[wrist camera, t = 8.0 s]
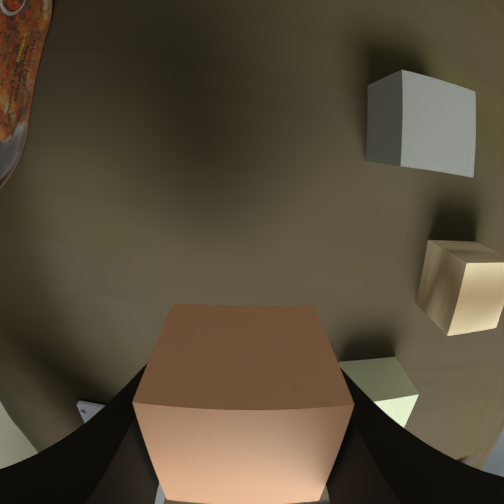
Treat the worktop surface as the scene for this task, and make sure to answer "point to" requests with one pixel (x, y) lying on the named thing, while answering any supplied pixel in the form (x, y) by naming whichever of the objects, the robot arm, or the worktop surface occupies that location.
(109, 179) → the worktop surface
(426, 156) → the slate block
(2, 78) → the tin
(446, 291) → the maple block
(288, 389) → the terracotta block
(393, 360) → the sage block
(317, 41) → the worktop surface
